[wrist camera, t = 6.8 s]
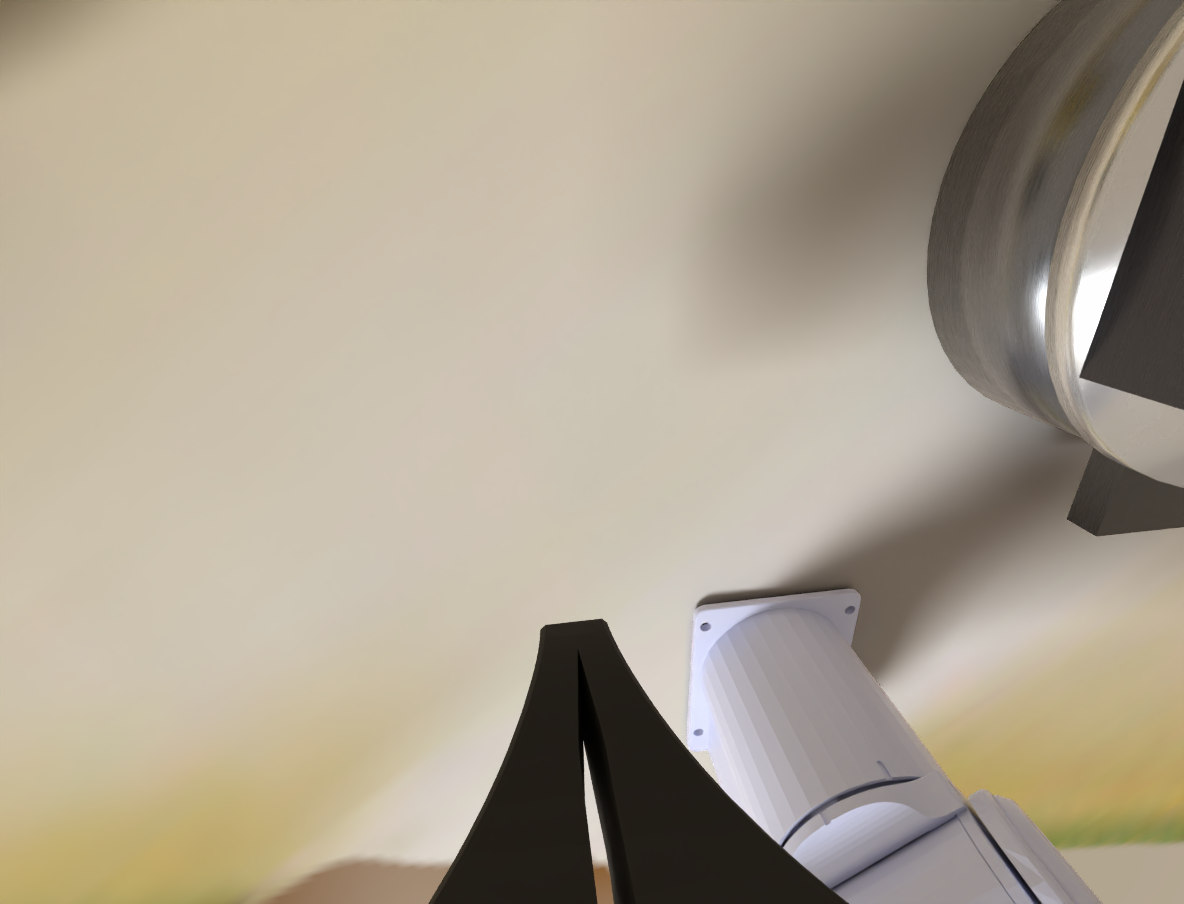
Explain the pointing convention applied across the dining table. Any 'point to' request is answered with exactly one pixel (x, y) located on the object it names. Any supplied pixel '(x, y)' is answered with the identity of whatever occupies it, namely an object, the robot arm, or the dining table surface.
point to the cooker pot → (1037, 230)
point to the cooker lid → (1127, 274)
